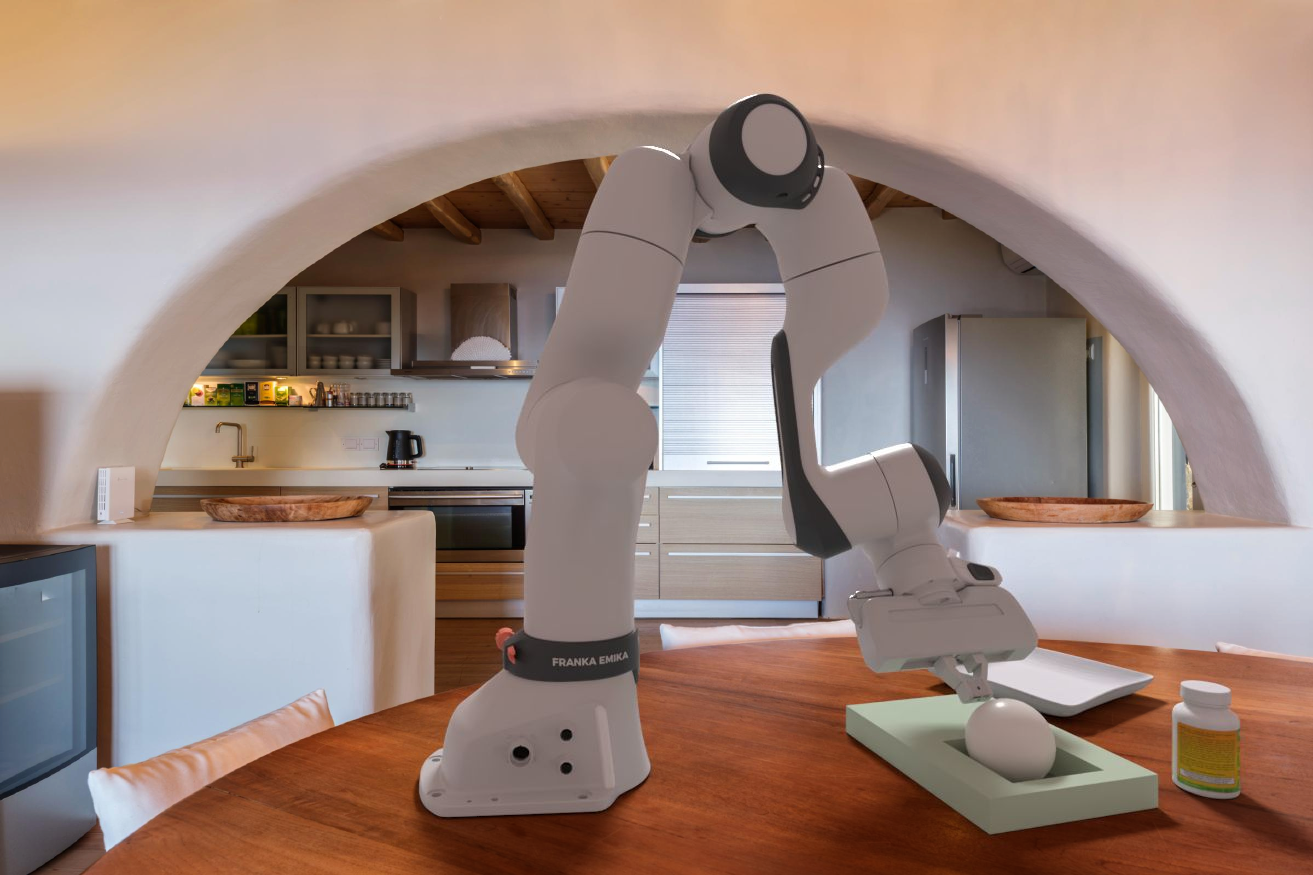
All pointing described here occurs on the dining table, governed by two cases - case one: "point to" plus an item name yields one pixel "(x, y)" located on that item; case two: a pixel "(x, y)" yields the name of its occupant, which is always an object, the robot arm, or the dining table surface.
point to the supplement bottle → (1206, 741)
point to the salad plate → (1059, 681)
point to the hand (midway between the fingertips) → (978, 700)
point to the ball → (1011, 740)
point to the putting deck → (938, 760)
